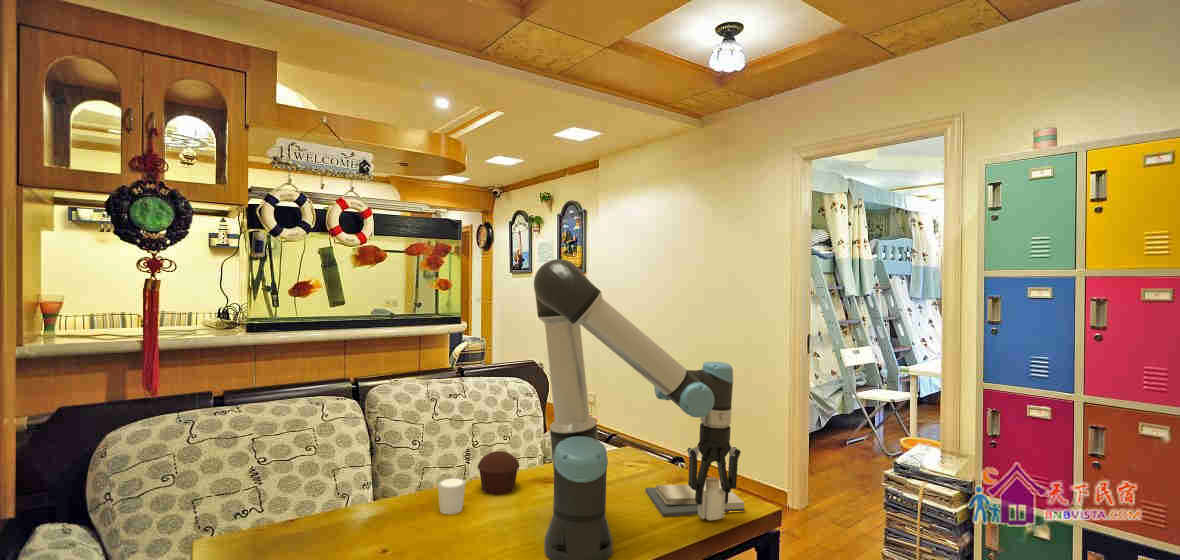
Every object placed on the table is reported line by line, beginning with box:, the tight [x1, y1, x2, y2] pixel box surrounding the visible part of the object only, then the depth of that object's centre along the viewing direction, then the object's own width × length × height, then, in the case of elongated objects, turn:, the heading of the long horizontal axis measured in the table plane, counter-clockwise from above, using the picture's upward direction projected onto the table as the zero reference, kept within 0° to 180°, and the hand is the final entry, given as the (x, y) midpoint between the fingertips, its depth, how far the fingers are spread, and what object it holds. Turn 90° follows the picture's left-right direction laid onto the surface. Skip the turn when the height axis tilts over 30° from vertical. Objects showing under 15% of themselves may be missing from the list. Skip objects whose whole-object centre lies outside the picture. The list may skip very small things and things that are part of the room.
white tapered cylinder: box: [437, 477, 466, 515], centre depth 138 cm, size 7×7×7 cm
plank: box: [655, 484, 697, 505], centre depth 146 cm, size 12×9×2 cm
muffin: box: [477, 451, 520, 496], centre depth 152 cm, size 12×11×10 cm
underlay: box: [644, 478, 745, 518], centre depth 147 cm, size 22×16×3 cm
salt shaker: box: [704, 477, 722, 521], centre depth 136 cm, size 4×4×10 cm
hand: (710, 515), depth 136 cm, fingers closed on salt shaker, 4 cm apart
